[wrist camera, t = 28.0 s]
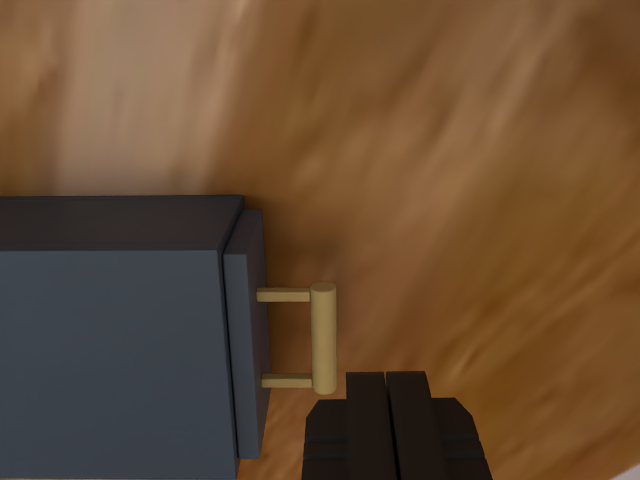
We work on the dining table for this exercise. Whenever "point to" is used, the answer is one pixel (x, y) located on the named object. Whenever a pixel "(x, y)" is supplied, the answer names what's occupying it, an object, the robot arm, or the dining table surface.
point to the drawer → (253, 337)
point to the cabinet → (115, 338)
